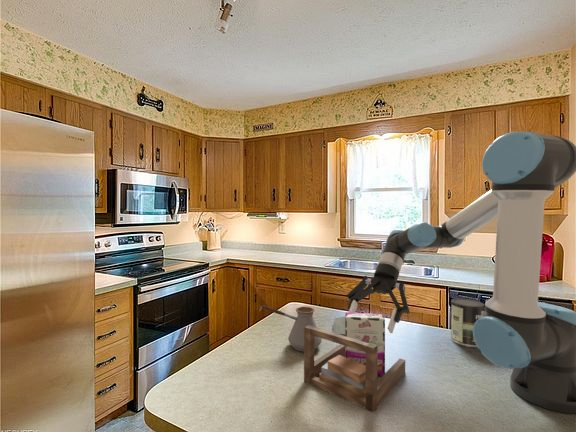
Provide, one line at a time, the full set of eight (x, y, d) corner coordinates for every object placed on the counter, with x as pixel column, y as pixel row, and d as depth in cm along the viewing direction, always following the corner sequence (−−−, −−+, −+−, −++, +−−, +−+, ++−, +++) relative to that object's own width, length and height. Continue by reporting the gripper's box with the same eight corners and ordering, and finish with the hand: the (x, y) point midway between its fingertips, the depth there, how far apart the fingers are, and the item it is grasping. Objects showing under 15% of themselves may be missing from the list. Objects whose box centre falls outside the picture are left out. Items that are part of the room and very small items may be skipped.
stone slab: (332, 341, 115) (360, 339, 113) (331, 334, 115) (359, 332, 114) (332, 320, 137) (355, 319, 136) (331, 314, 137) (354, 312, 136)
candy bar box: (382, 368, 92) (383, 313, 92) (385, 377, 87) (385, 319, 87) (344, 365, 94) (345, 311, 94) (344, 373, 89) (345, 316, 89)
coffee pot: (317, 339, 113) (317, 297, 113) (325, 353, 102) (326, 307, 101) (258, 342, 110) (258, 300, 110) (260, 357, 99) (260, 310, 98)
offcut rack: (405, 374, 89) (406, 322, 89) (373, 412, 72) (373, 348, 72) (344, 353, 102) (344, 307, 102) (303, 381, 85) (304, 327, 85)
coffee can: (487, 341, 111) (488, 302, 111) (477, 350, 105) (478, 308, 104) (457, 333, 119) (457, 296, 119) (445, 340, 112) (446, 301, 112)
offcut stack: (377, 389, 81) (377, 366, 81) (366, 402, 76) (366, 377, 76) (331, 371, 90) (331, 351, 90) (318, 381, 85) (318, 359, 85)
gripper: (429, 280, 100) (412, 342, 89) (358, 270, 116) (337, 321, 105) (424, 267, 96) (406, 329, 85) (352, 258, 112) (329, 310, 101)
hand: (368, 325), depth 95 cm, fingers open, 13 cm apart
